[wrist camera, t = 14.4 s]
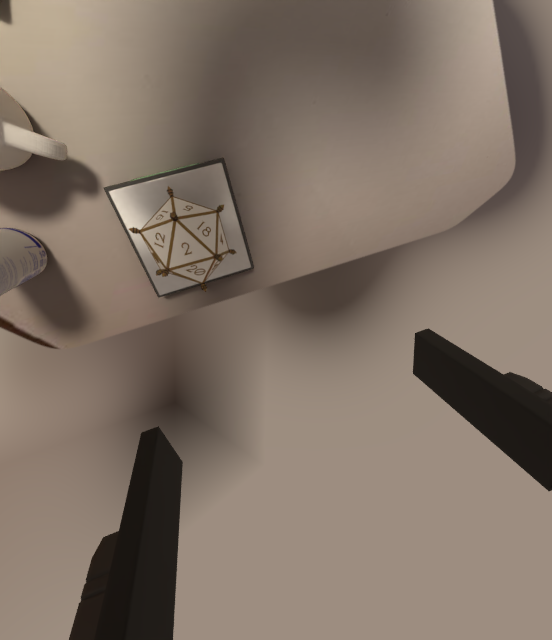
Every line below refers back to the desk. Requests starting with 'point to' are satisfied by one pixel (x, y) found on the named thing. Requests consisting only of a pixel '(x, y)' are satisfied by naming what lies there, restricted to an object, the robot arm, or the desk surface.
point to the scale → (168, 173)
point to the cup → (22, 137)
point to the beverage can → (19, 258)
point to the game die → (185, 239)
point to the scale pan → (194, 187)
